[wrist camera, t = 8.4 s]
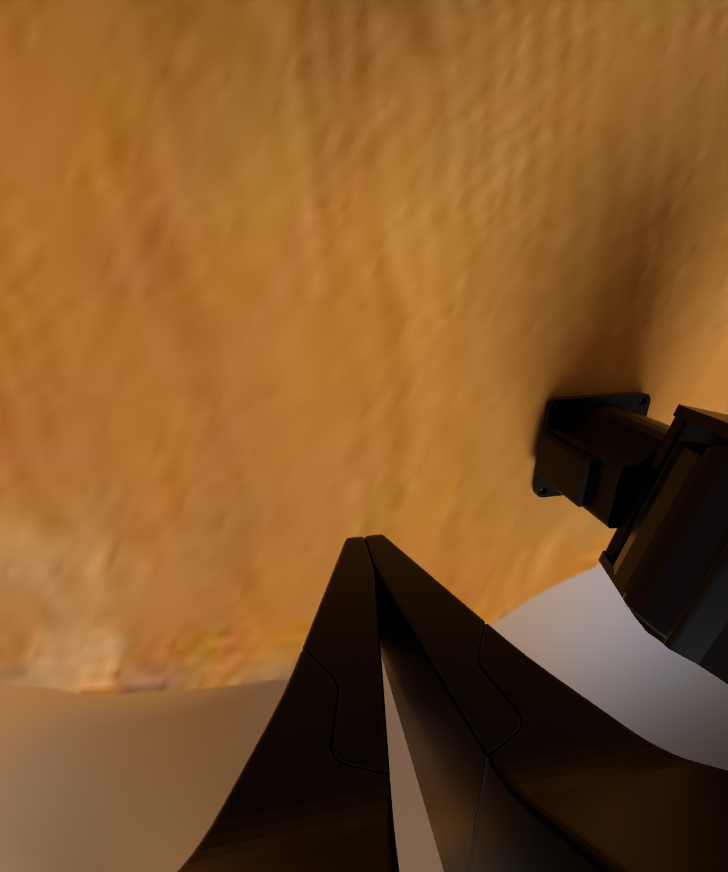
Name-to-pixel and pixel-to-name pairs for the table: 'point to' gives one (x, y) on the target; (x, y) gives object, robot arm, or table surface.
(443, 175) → the table surface
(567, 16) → the table surface
